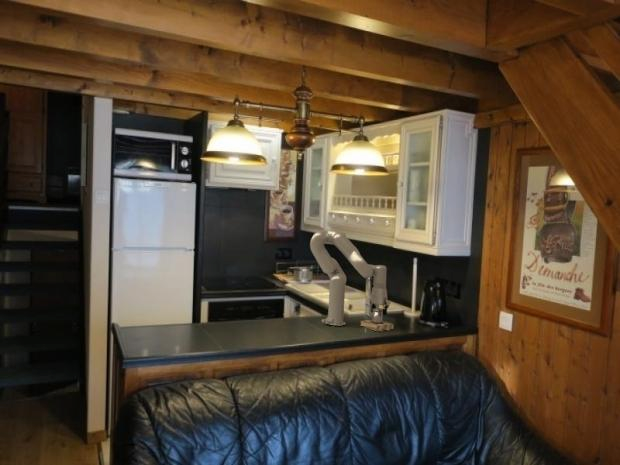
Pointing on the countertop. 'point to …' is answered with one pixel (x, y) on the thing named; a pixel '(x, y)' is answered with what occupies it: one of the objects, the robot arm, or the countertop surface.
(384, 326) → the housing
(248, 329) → the countertop surface
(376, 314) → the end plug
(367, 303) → the supplement box
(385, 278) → the robot arm
